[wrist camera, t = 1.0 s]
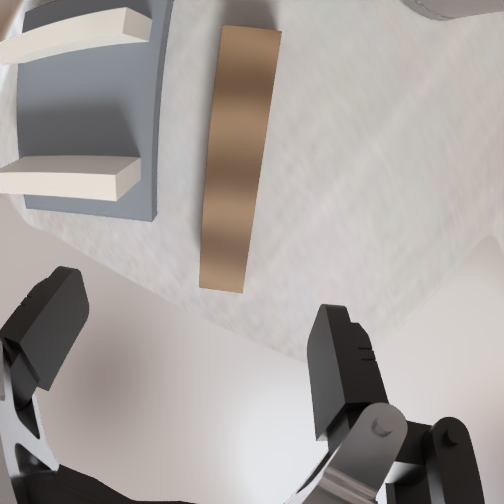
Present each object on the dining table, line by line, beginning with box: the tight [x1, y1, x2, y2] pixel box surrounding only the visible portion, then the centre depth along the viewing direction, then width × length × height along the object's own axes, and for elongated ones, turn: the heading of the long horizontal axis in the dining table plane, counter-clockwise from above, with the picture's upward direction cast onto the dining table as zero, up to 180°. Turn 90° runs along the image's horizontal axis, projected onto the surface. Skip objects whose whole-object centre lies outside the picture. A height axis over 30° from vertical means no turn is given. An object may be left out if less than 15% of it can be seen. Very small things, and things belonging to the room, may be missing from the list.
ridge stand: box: [0, 0, 174, 222], centre depth 19 cm, size 22×16×6 cm
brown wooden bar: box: [199, 25, 282, 293], centre depth 23 cm, size 22×4×4 cm, turn 172°
